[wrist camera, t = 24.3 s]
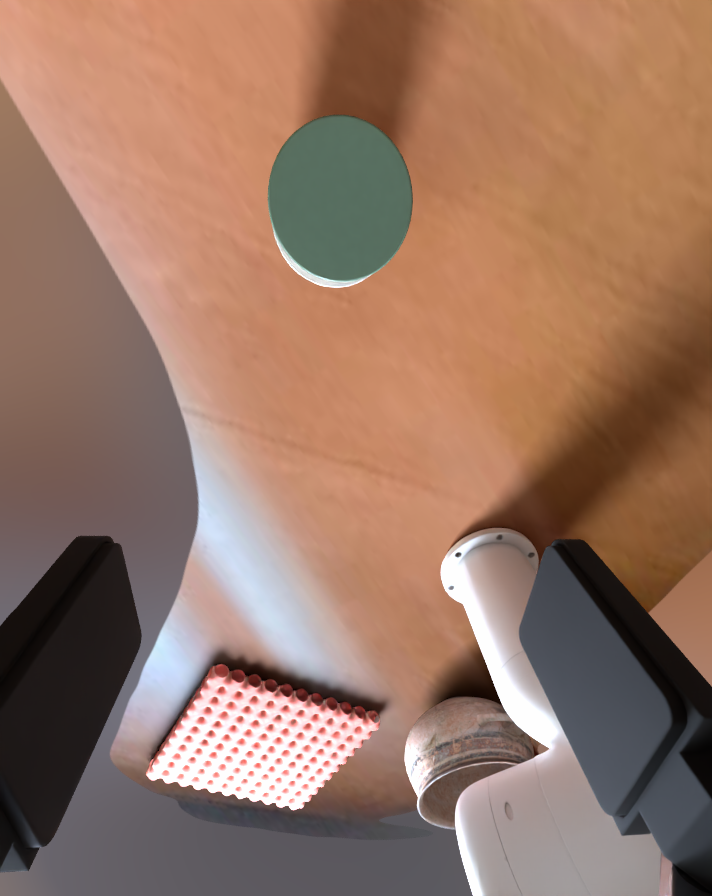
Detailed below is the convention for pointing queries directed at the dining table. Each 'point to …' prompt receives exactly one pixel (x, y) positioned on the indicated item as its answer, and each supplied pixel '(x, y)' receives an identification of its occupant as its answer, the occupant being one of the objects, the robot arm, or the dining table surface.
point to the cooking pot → (460, 752)
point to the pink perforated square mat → (260, 739)
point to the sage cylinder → (340, 198)
